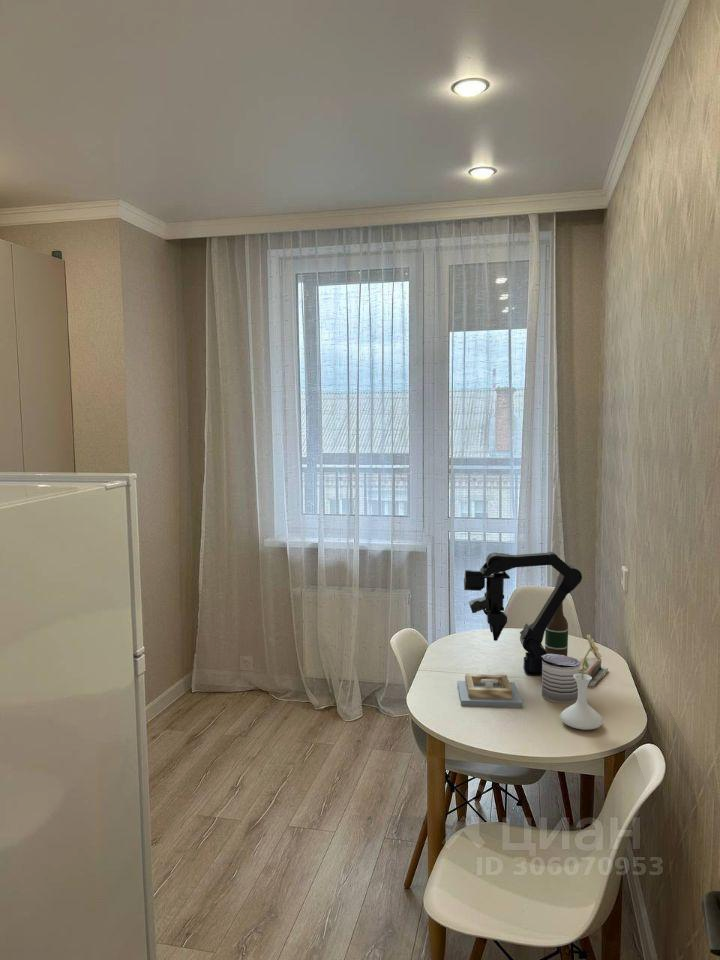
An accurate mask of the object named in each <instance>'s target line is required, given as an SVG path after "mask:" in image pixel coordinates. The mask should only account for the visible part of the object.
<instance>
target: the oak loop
mask: <svg viewBox="0 0 720 960" xmlns="http://www.w3.org/2000/svg"><path fill="white" fill-rule="evenodd" d="M464 677H465V679H464V681H465V683H466V687H467V692H468V697H478V698H509V699H512V688H511V686H510V683H509V682H510V681H509V677H508V675H507V674H482V673H481V674H480V673H479V674H478V673H465V675H464ZM481 679H496V680H498V683H496V684H501V685H502V688H478V687H474V684H485V683H481ZM493 684H494V683H493Z"/></svg>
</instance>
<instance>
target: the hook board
mask: <svg viewBox="0 0 720 960" xmlns="http://www.w3.org/2000/svg"><path fill="white" fill-rule="evenodd" d="M481 683H485V684H474V687H478V688H502V685H501V684H496V683H498V680H496V679H481ZM493 683H494V684H493ZM509 683H510V686H511V688H512V699H509V698H478V697H468V692H467V687H466V683H465V680H457V685H458V686H457V685H456V686H457V691H458V697H459V701H460V706H465V707H466V706H469V707H494V706H499V708H500V707H501V708H523V700H522V699H521V696H520V695H521V694H520V692H519V691H518V688H517V686H516V683H515V682H510V681H509Z"/></svg>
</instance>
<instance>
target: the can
mask: <svg viewBox="0 0 720 960" xmlns="http://www.w3.org/2000/svg"><path fill="white" fill-rule="evenodd" d="M541 657H542V658H543V665H542V675H541V676H542V677H541V697H542V698H544V699H546V700H548V701H550V702H556V703H558V704H559V703H560V704H567V703H571V704H572V703H575V702H576V701H577V699H578V687H577V682H576V680H575V678H574V677H573V675H574V674H579V671H578V670H579V664H581V663H580V662H579V661H580V660H578V659H577V658H575V657H571V656H568V655H567V656H565V655H558V654H546V655H542V656H541Z"/></svg>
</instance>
